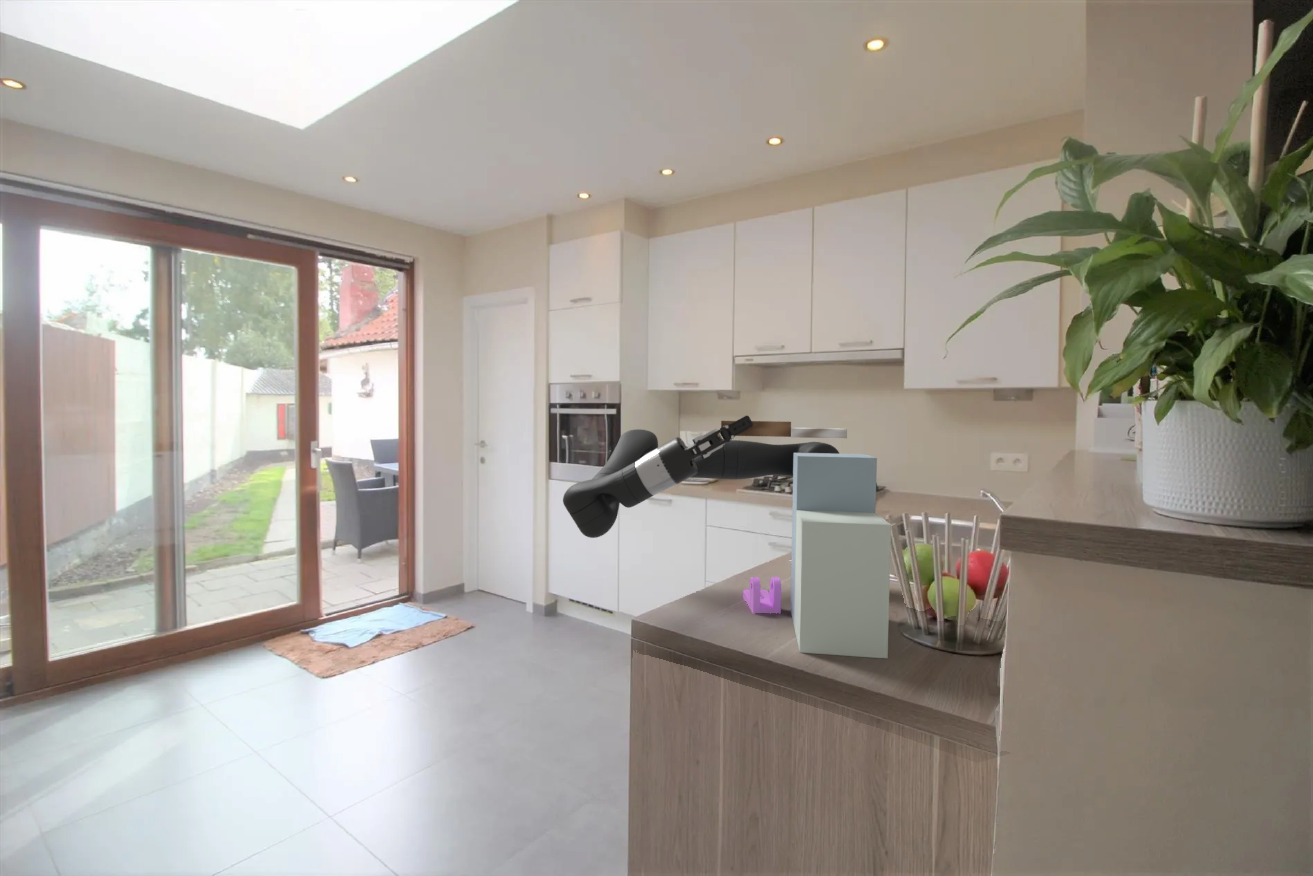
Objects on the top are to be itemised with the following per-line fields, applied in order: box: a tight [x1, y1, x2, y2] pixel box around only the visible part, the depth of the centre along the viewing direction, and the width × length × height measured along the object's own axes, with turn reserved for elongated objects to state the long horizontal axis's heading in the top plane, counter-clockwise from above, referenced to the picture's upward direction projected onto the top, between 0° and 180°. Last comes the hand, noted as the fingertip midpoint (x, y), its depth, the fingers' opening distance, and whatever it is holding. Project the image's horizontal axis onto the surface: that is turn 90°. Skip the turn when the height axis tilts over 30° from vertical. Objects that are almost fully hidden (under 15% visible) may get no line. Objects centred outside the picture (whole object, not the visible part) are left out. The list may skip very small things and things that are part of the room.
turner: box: [720, 420, 848, 439], centre depth 104 cm, size 21×7×3 cm, turn 81°
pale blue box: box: [789, 453, 892, 659], centre depth 108 cm, size 14×22×32 cm, turn 171°
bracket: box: [742, 576, 782, 615], centre depth 125 cm, size 13×6×7 cm, turn 3°
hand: (750, 420), depth 105 cm, fingers closed on turner, 2 cm apart
